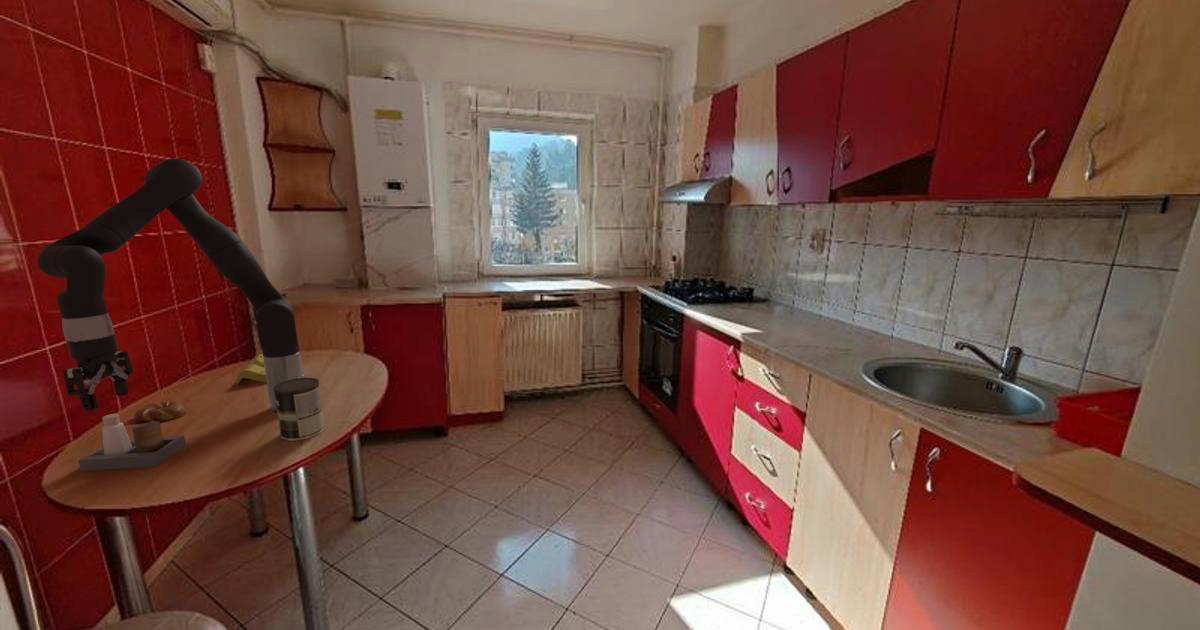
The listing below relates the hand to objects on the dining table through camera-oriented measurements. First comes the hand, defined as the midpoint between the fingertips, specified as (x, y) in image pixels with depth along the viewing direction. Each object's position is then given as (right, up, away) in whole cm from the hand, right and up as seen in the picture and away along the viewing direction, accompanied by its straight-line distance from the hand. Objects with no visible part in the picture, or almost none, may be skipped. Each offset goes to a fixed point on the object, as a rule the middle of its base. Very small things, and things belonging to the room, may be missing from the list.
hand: (107, 402), depth 108 cm
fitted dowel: (+6, -14, +5) cm, 16 cm away
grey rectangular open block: (+3, -15, +4) cm, 16 cm away
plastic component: (-9, -2, +62) cm, 63 cm away
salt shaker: (-1, -14, +4) cm, 15 cm away
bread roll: (-14, -10, +28) cm, 33 cm away
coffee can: (+33, -12, +19) cm, 40 cm away
